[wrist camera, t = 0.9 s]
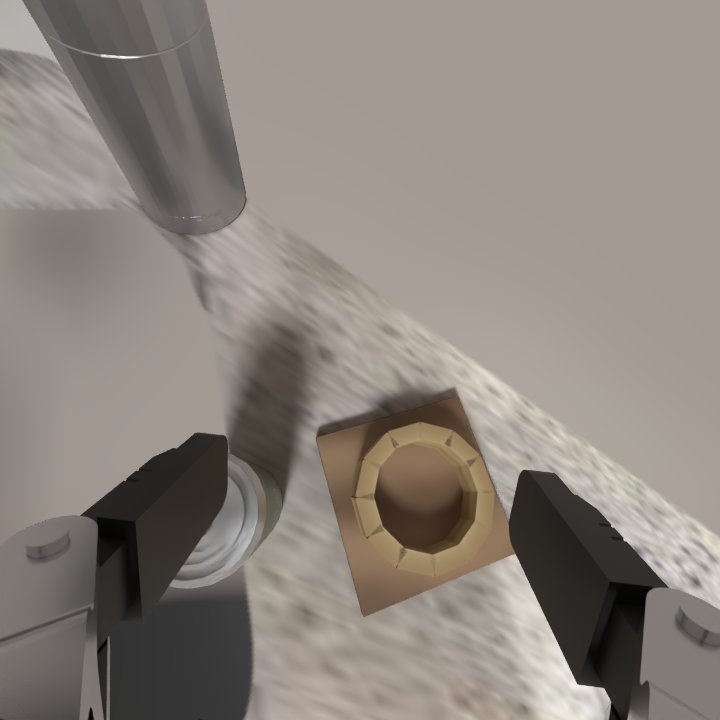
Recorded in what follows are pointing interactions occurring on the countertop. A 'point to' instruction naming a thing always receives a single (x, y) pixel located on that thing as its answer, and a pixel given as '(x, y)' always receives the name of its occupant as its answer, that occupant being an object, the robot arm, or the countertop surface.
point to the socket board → (412, 502)
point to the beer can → (234, 526)
